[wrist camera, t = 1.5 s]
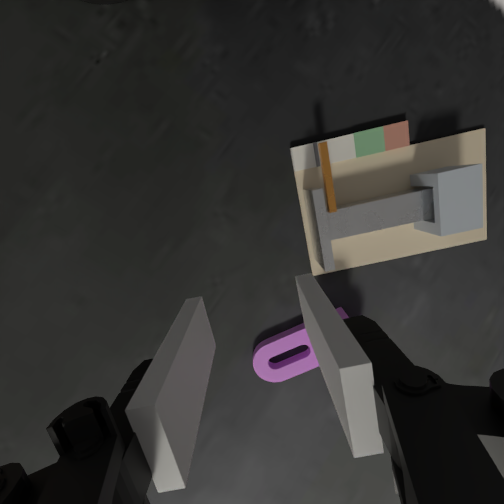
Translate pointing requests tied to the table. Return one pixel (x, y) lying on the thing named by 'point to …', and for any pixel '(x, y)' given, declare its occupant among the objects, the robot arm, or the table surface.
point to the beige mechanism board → (399, 189)
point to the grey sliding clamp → (358, 212)
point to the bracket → (283, 344)
